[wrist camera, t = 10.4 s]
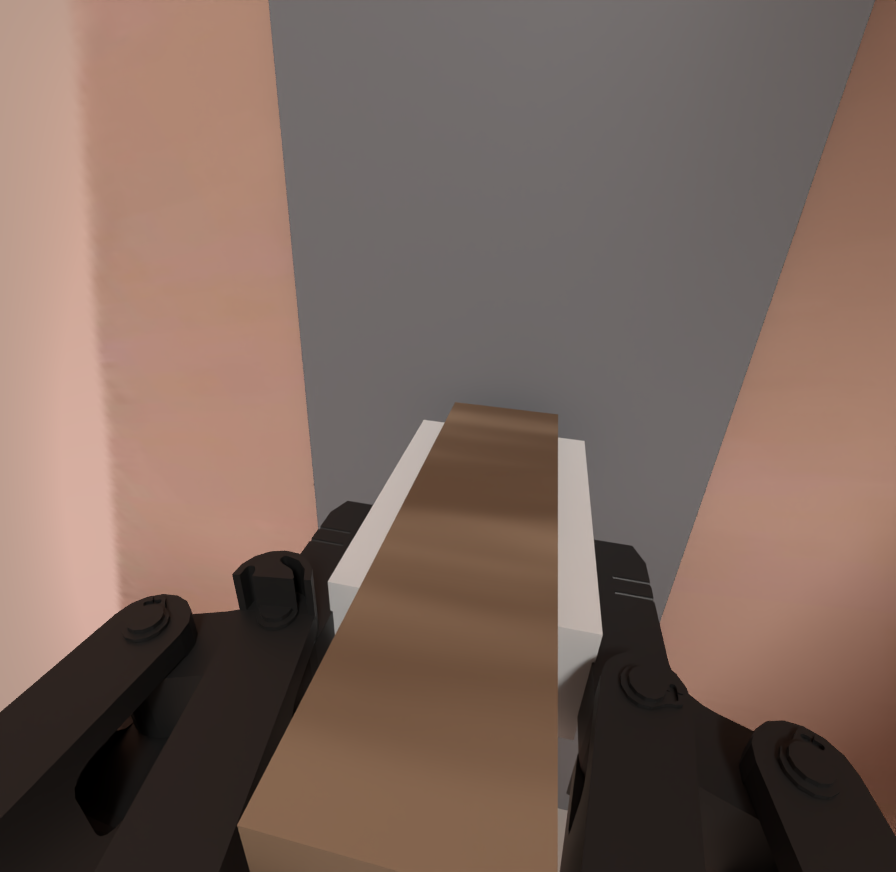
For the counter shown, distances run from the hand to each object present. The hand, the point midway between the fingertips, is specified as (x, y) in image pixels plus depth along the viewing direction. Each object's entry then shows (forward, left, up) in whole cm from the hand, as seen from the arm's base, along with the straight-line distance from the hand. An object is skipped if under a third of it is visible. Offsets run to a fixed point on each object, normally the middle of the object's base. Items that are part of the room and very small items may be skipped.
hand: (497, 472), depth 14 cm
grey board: (+3, 0, -2) cm, 3 cm away
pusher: (+3, 0, -1) cm, 3 cm away
